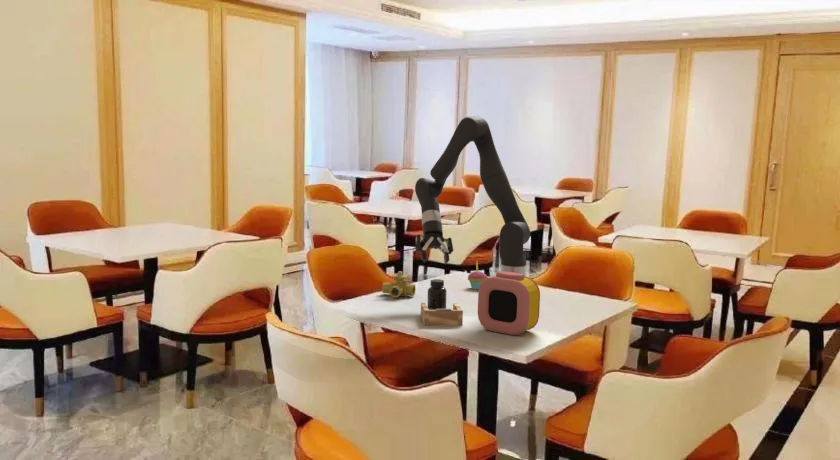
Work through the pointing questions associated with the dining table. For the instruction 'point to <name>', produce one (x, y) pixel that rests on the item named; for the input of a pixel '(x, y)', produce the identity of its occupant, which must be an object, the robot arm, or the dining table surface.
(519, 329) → the alarm clock
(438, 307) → the supplement bottle
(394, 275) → the ball valve
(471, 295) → the dining table surface
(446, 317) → the frame
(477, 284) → the cupcake
